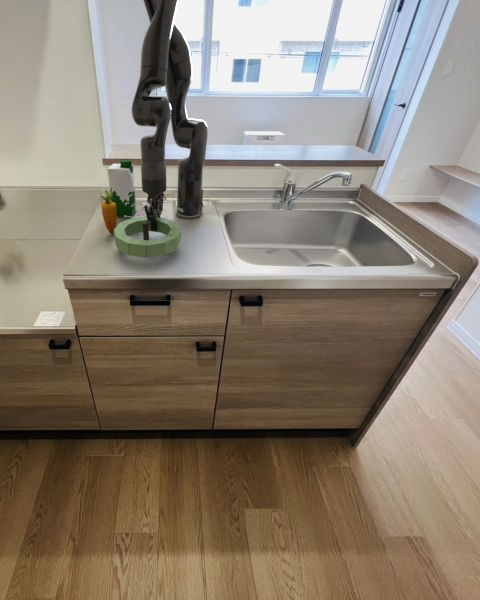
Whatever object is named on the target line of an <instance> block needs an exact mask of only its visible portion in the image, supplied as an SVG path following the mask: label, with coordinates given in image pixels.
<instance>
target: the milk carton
mask: <svg viewBox="0 0 480 600" xmlns="http://www.w3.org/2000/svg"><path fill="white" fill-rule="evenodd" d="M134 166H135V164H134V163H132V159H128V158H124V159H120V160H119V163H112V164H111V165H109V167H107V168H106V170H107V176H108V186H109V194H110V193H111V194H112V195H111V200H110V201H111V202H114V203H115V204H116V213H117V218H125V217H124V215H125V216H129V217H134V214H135V213H136V189H135V187H136V186H135V167H134Z"/></svg>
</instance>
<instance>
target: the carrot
mask: <svg viewBox="0 0 480 600" xmlns="http://www.w3.org/2000/svg"><path fill="white" fill-rule="evenodd" d="M104 193H105V196H103V195H100V196H99V197H100V198H101V199H103V200H104V202H102V203H101V211H102V217H103V222H104V225H105V228H106V230H107V231H108V233H109V234H110V235H111V236H113V235H114V229H115V228H116V227H117V222H118V221H117V220H118V217H117V213H116V204H115V203H114V202H111V195H112V194H111V193H110V192H109V191H108V190H107V189H106V190H104Z"/></svg>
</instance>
